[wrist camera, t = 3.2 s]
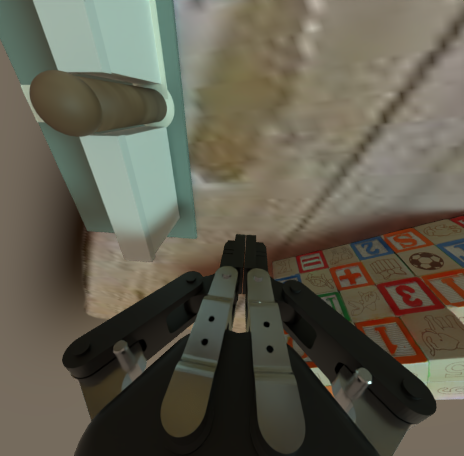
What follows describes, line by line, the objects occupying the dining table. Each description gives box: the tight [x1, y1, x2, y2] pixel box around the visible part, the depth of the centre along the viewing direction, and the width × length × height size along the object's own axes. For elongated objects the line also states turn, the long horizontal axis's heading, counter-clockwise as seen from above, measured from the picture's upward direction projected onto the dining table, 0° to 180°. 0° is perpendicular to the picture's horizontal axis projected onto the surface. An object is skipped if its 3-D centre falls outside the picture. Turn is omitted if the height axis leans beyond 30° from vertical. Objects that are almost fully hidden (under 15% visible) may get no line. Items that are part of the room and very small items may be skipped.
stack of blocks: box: [272, 216, 464, 400], centre depth 18 cm, size 21×6×12 cm, turn 114°
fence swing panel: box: [80, 126, 180, 262], centre depth 16 cm, size 9×2×7 cm, turn 179°
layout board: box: [0, 0, 197, 239], centre depth 17 cm, size 27×14×1 cm, turn 179°
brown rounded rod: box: [29, 70, 167, 137], centre depth 12 cm, size 3×3×10 cm
